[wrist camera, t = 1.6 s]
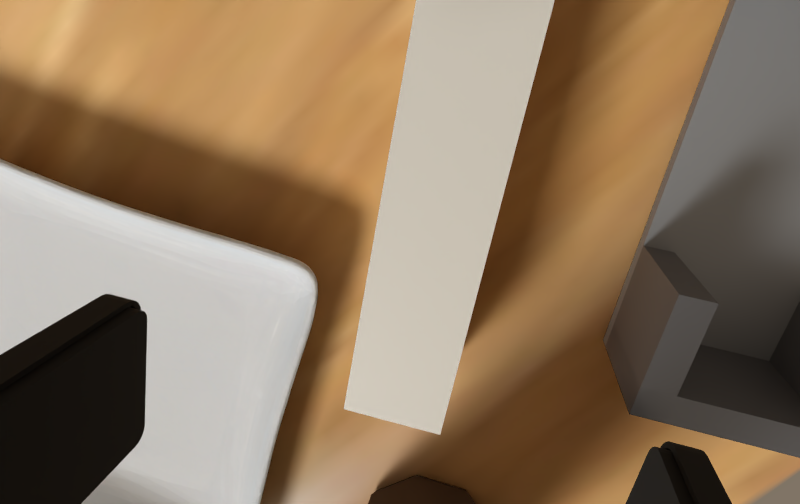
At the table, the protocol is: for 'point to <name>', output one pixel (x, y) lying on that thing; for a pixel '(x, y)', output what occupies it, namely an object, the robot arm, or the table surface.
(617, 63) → the table surface
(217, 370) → the salad plate
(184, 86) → the table surface
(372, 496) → the beer bottle
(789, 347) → the endcap jig
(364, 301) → the beige rectangular block
